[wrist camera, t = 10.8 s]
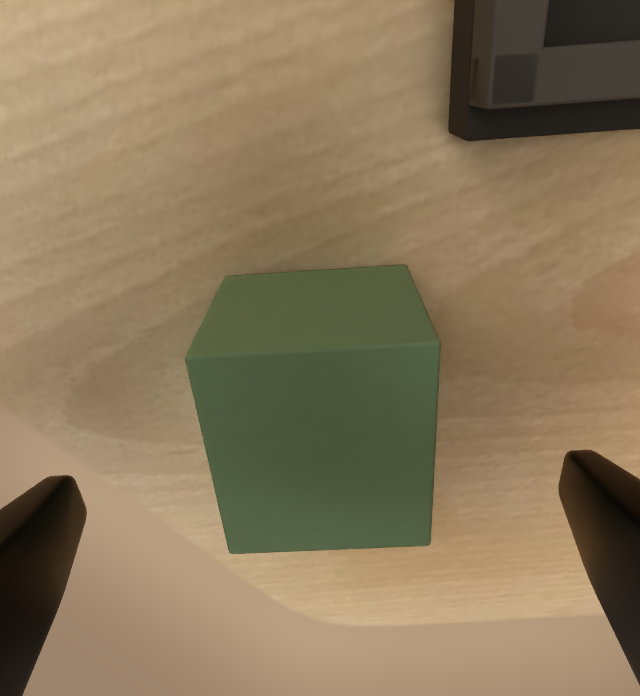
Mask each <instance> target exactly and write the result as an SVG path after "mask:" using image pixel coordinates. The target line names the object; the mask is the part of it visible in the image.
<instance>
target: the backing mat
mask: <svg viewBox="0 0 640 696" xmlns="http://www.w3.org/2000/svg"><path fill="white" fill-rule="evenodd" d="M628 129H640V0H455V6H454V26H453V47H452V68H451V88H450V109H449V133H451V134H454V135H456V136H458V137H460V138H462V139H464V140H467V141H477V140H490V139H504V138H518V137H532V136H545V135H559V134H573V133H587V132H600V131H614V130H628Z"/></svg>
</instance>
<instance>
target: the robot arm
mask: <svg viewBox="0 0 640 696" xmlns="http://www.w3.org/2000/svg"><path fill="white" fill-rule="evenodd" d="M559 496H560V499H561V502H562V505H563V508H564V511H565V514H566V516H567V519H568V522H569V525H570V528H571V530H572V533H573V536H574V539H575V542H576V545H577V547H578V550H579V553H580V556H581V559H582V562H583V564H584V567H585V570H586V572H587V575H588V577H589V580H590V582H591V584H592V586H593V589H594V591H595V593H596V595H597V597H598V599H599V601H600V604H601V606H602V608H603V610H604V612H605V614H606V616H607V618H608V620H609V622H610V624H611V626H612V628H613V631H614V632H615V635H616V637H617V639H618V641H619V643H620V645H621V647H622V649H623V651H624V653H625V656H626V658H627V660H628V662H629V664H630V666H631V668H632V670H633V672H634V674H635V676H636V678H637V681H638V683H639V685H640V479H639V478H637V477H635V476H634V475H632V474H630V473H629V472H627V471H626V470H624V469H622V468H621V467H619V466H617V465H616V464H614V463H613V462H611V461H609V460H608V459H606V458H604V457H603V456H601V455H600V454H598V453H596V452H594V451H592V450H572V451H569V452H567V453H566V455H565V458H564V462H563V467H562V471H561V476H560V481H559ZM85 520H86V506H85V503H84V501H83V498H82V496H81V493H80V491H79V488H78V486H77V484H76V481H75V479H74V478H73V477H72V476H68V475H62V476H50V477H47V478H45V479H44V480H42V481H41V482H39V483H38V484H37V485H35V486H34V487H32V488H31V489H29V490H28V491H27V492H25V493H24V494H22V495H21V496H19V497H18V498H16V499H15V500H14V501H12V502H11V503H9V504H8V505H6V506H5V507H3V508H2V509H1V510H0V696H22V695H23V693H24V690H25V688H26V685H27V683H28V681H29V678H30V676H31V673H32V671H33V669H34V666H35V664H36V661H37V659H38V656H39V654H40V652H41V649H42V647H43V644H44V642H45V639H46V637H47V635H48V632H49V630H50V627H51V625H52V622H53V620H54V618H55V615H56V613H57V610H58V608H59V605H60V602H61V600H62V597H63V594H64V591H65V588H66V585H67V581H68V578H69V575H70V571H71V568H72V565H73V561H74V558H75V555H76V551H77V548H78V544H79V541H80V538H81V535H82V531H83V528H84V524H85Z"/></svg>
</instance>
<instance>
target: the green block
mask: <svg viewBox="0 0 640 696" xmlns="http://www.w3.org/2000/svg"><path fill="white" fill-rule="evenodd" d="M440 351H441V343H440V341H439V339H438V336H437V334H436V332H435V329H434V327H433V325H432V322H431V320H430V318H429V316H428V313H427V311H426V309H425V306H424V304H423V302H422V299H421V297H420V295H419V292H418V290H417V288H416V285H415V283H414V281H413V279H412V276H411V274H410V272H409V269H408V267H407V265H393V266H377V267H361V268H345V269H330V270H314V271H298V272H282V273H267V274H251V275H235V276H226V277H224V279H223V281H222V283H221V285H220V287H219V289H218V291H217V293H216V295H215V297H214V299H213V301H212V303H211V305H210V308H209V310H208V312H207V314H206V316H205V318H204V320H203V322H202V324H201V326H200V328H199V330H198V332H197V334H196V336H195V338H194V340H193V342H192V344H191V346H190V348H189V350H188V352H187V354H186V357H185V361H186V365H187V369H188V374H189V378H190V383H191V387H192V391H193V396H194V400H195V405H196V409H197V414H198V418H199V422H200V427H201V431H202V436H203V440H204V444H205V449H206V453H207V458H208V462H209V466H210V471H211V475H212V480H213V484H214V488H215V493H216V497H217V502H218V506H219V510H220V515H221V519H222V524H223V528H224V532H225V537H226V541H227V546H228V550H229V553H231V554H244V553H269V552H293V551H317V550H341V549H365V548H389V547H413V546H428V545H430V543H431V527H432V507H433V488H434V468H435V449H436V429H437V410H438V390H439V371H440Z"/></svg>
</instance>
